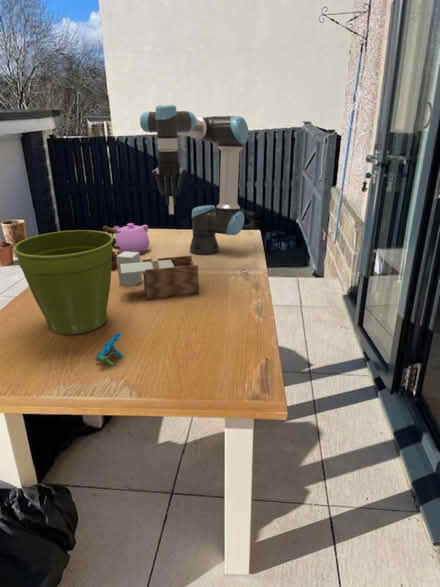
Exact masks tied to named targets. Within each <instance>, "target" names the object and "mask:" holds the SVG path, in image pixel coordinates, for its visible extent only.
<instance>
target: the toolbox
mask: <svg viewBox="0 0 440 587" xmlns="http://www.w3.org/2000/svg"><path fill="white" fill-rule="evenodd" d="M157 259H158V261H161V260H171V261H172V263H173V265H174V267H169V268H158V269H147V270H145V273H144V274H142V277H143V285H144V286H143V287H144V290H145V291H144V292H145V295H146V298H147V301H149V300H151V301H152V300H158V299H159V300H160V299H171V298H178V297H186V296H195V295H196V296H198V295H200V292H199V290H200V289H199V288H200V285H199V284H200V282H199V265H198V264H195V263H194V261H193V255H183V256H182V255H181V256H172V257H171V256H170V257H160V258H158V257H157ZM150 261H151V258H148V259H142V261H141V262H150Z"/></svg>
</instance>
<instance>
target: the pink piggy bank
mask: <svg viewBox="0 0 440 587" xmlns="http://www.w3.org/2000/svg"><path fill="white" fill-rule="evenodd" d="M113 229H115V230H117V231H120V233H115V240H116V238H117V240H116V244H115V246H120V249H118V250H117V251H118V252H119V254H121V253H123V252H124V251H127V252H139V253H142V254H143V253H147V251H146V250H147V249H148V248H149V246H150V238H149V236H148V231H149V226H148V225H147V224H143V225H135V223H132V222H129V223H127V224H126V226H122V227H120V226H118V225H115V226H113ZM116 235H117V236H116Z"/></svg>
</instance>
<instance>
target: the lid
mask: <svg viewBox="0 0 440 587" xmlns="http://www.w3.org/2000/svg"><path fill="white" fill-rule="evenodd" d="M150 259H151V261H150V262H142V261H141V262H138V263H127V264H120V268H121V275H122V276H123V275H134V274H142V275H143V274H144V273H145V270H147V269H158V268H169V267H174V265H173V263H172V261H171V260H161V261H158V256H157V254H151V255H150Z"/></svg>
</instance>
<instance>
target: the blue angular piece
mask: <svg viewBox="0 0 440 587" xmlns="http://www.w3.org/2000/svg"><path fill="white" fill-rule="evenodd" d="M121 336H122V332H120V331H117V333H115V334H113V336H112V337H111V338H110V339H109V340H108V341H107V342H105V344H104V346H103V347H102V348H101V350H99V352H98V353H97V355H96V356H95V359H96V360H97V361H103V362H104V363H105V362H106V363H108V364H109V365H110V366H113V367H114V364H115V363H114V362H113V361H111V360H110V359H109V358H110V356H111V355H112V353H114V354H115V355H116V356H118V357H119V358H120V359H121V358H122V357H123V354H122V353H121V352H120V351H119V350H117V349H116V347H115V346H114V345H115V344H116V341H118V340H119V339H120V337H121Z"/></svg>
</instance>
